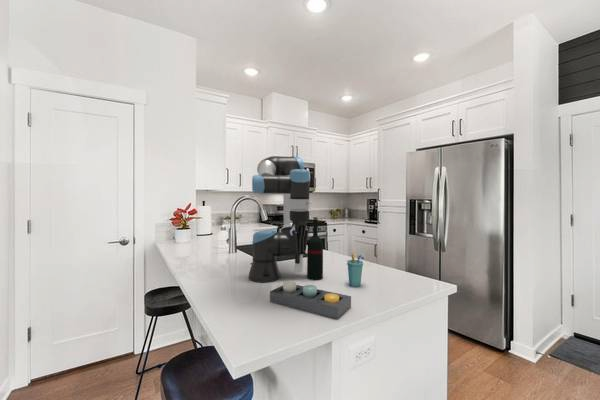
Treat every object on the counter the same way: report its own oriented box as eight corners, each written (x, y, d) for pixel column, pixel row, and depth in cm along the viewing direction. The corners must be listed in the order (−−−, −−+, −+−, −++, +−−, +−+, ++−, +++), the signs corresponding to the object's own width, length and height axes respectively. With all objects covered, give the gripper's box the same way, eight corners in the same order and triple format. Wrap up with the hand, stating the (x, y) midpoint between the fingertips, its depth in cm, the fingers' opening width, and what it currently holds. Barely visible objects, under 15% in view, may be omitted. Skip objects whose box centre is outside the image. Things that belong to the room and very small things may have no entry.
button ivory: (280, 292, 108) (280, 283, 108) (287, 288, 113) (287, 280, 112) (291, 295, 105) (291, 286, 105) (298, 291, 110) (298, 282, 110)
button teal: (300, 297, 103) (300, 287, 103) (307, 293, 108) (307, 284, 108) (312, 300, 101) (312, 290, 101) (319, 295, 105) (319, 286, 105)
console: (269, 301, 106) (270, 291, 106) (287, 292, 117) (287, 283, 117) (337, 319, 92) (337, 307, 92) (350, 307, 102) (351, 296, 102)
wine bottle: (316, 273, 145) (317, 216, 144) (325, 279, 135) (326, 217, 135) (302, 275, 142) (303, 216, 141) (310, 281, 132) (311, 218, 132)
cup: (370, 290, 120) (371, 255, 120) (354, 291, 119) (354, 256, 118) (356, 280, 134) (357, 249, 134) (341, 281, 132) (341, 250, 132)
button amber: (321, 306, 99) (321, 296, 99) (328, 301, 103) (328, 292, 103) (335, 309, 96) (335, 299, 96) (341, 304, 100) (341, 295, 100)
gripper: (299, 212, 99) (299, 277, 100) (315, 209, 110) (314, 268, 112) (281, 210, 103) (281, 274, 104) (299, 208, 114) (298, 265, 115)
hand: (298, 270), depth 108 cm, fingers closed
